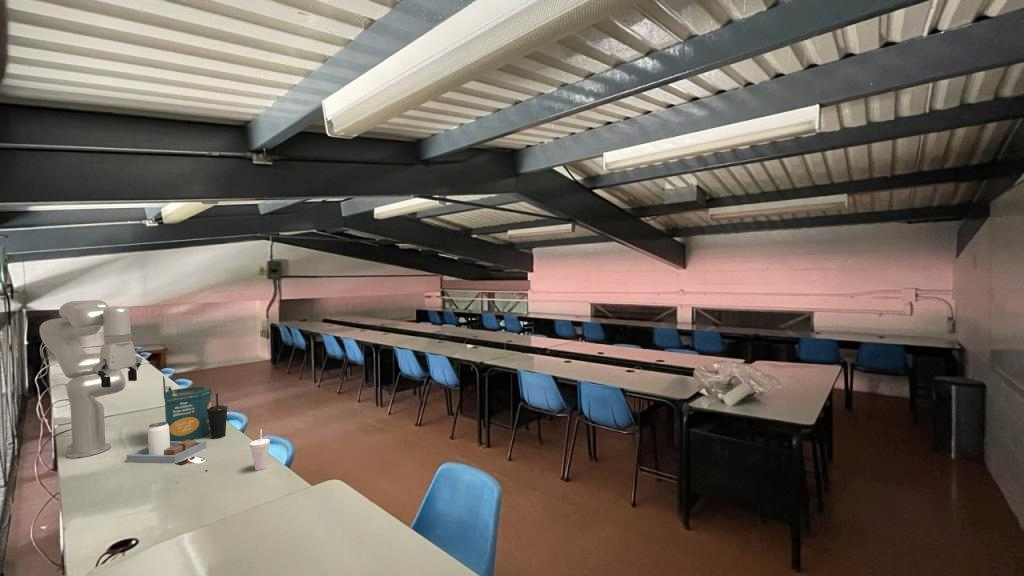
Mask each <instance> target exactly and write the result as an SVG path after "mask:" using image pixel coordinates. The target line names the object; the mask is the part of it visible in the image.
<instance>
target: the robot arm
mask: <svg viewBox="0 0 1024 576" xmlns="http://www.w3.org/2000/svg"><path fill="white" fill-rule="evenodd" d="M58 313H59V316H60V317H58V318H53V319H49V320H45V321H44V322H42V323H41V325H40V326H39V336H40V338H41V341H42V344H43V345H45V347H46V348H47V349H48V350H49V351H50V352H51V353H52V354H53V355H54V356H55V359H56V360H57V363H58V365H59V367H60V369H61V372H62V373H63V375H64V376H65V377H66V378H67V379H70V380H69V381H68V382H67V384H66V387H65V390H66V395H67V399H68V401H69V408H70V418H71V419H70V422H71V423H70V424H71V442H70V443H69V444H67V445H66V448H68V449H71V450H70V451H69V452H67V455H66V457H67V458H69V459H78V457H80V458H85V457H90V456H95V455H98V454H101V453H103V452H106V451H108V450H109V449H111V447H112V444H111V443H108V442H107V443H106V428H105V427H106V426H105V425H106V424H105V408H104V406H103V405H104V404H102V403H101V402H100V401H98V400H97V399H96V398H99V397H102V396H108V395H113V394H117V393H119V392H122V391H124V389H125V387H126V378H125V376H124V374H123V371H122V369H127V370H128V371H127V380H128V382H136V381H138V376H137V375H138V374H137V371H138V370H139V367H140V366H141V365H142V362H143V357H140V356H138V355H137V356H136V351H135V350H136V349H135V346H134V343H133V341H132V338H133V337H134V335H133V334H132V330H131V311H130V309H129V308H128V307H125V306H122V307H120V306H109V305H108V303H107V302H105V301H103V300H102V299H101V300H99V299H97V300H96V299H89V300H73V301H68V302H65V303H64V304H62V305H61V306H60V307H59V310H58ZM102 328H103V342H104V343H103V344H102V345H101V347H100V351H99V352H95V353H87V352H86V351H85V349H84V347H83V346H82V345H81V343H79V342H77V341H74V340H72V339H70V338H75V337H76V338H77V337H86V336H93V335H96V334H98V333H99V331H100V330H101V329H102Z"/></svg>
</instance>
